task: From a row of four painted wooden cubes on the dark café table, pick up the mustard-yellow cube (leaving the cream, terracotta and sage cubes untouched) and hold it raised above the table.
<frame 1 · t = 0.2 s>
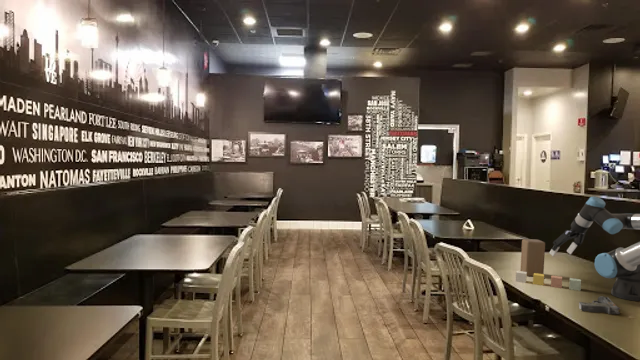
hand: (560, 253, 244), 16 cm above the table, tool tilted 35°, fingers open, 13 cm apart
cream cube: (520, 281, 247), on the table
wooden block: (531, 275, 263), on the table
sage cube: (574, 289, 234), on the table
handgun: (595, 308, 204), on the table
terracotta cube: (556, 286, 238), on the table
mustard cube: (538, 283, 243), on the table
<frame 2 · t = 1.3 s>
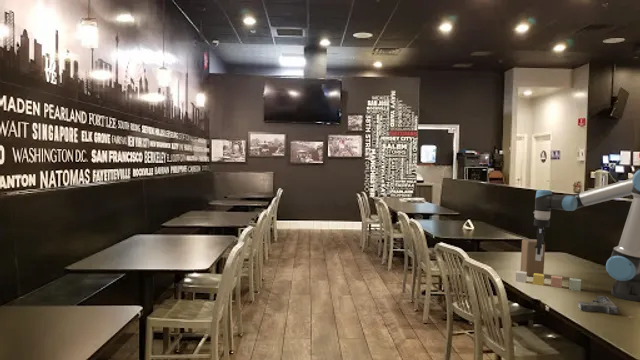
hand: (538, 258, 242), 13 cm above the table, tool pointing down, fingers open, 13 cm apart
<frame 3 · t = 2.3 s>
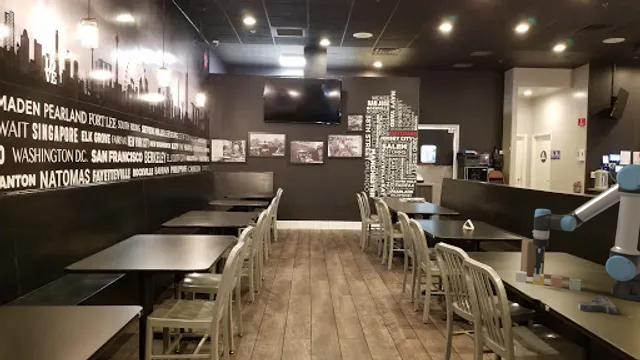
hand: (537, 277, 243), 3 cm above the table, tool pointing down, fingers open, 13 cm apart
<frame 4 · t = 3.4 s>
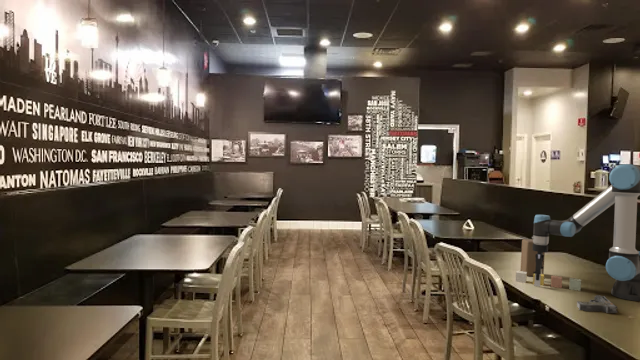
hand: (537, 283, 243), 0 cm above the table, tool pointing down, fingers open, 13 cm apart
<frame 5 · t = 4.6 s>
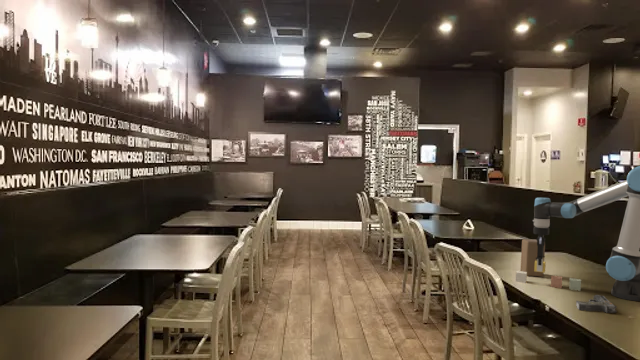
hand: (539, 270, 242), 7 cm above the table, tool pointing down, fingers closed on mustard cube, 5 cm apart
mustard cube: (539, 271, 242), point 7 cm above the table, touching gripper
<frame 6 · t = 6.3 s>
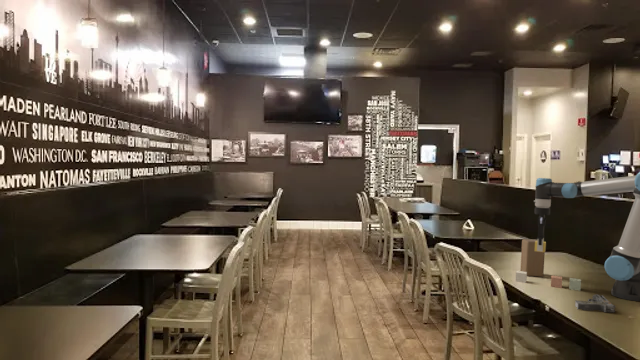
hand: (540, 250, 243), 18 cm above the table, tool pointing down, fingers closed on mustard cube, 5 cm apart
mustard cube: (539, 251, 243), point 17 cm above the table, touching gripper
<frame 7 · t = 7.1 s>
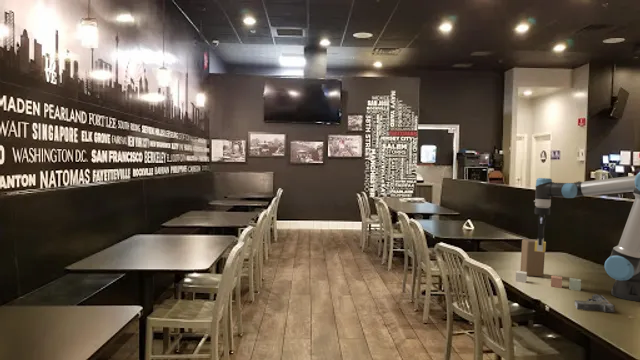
hand: (540, 250, 243), 18 cm above the table, tool pointing down, fingers closed on mustard cube, 5 cm apart
mustard cube: (539, 251, 243), point 17 cm above the table, touching gripper
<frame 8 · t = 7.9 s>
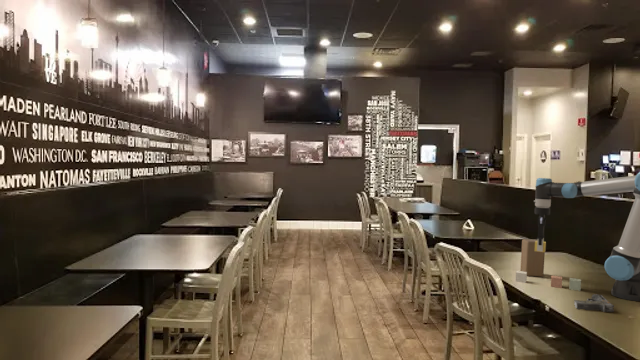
hand: (540, 250, 243), 18 cm above the table, tool pointing down, fingers closed on mustard cube, 5 cm apart
mustard cube: (539, 251, 243), point 17 cm above the table, touching gripper
at the end: the gripper is holding mustard cube; mustard cube point 17.2 cm above the table; terracotta cube moved 0.1 cm from its start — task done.
